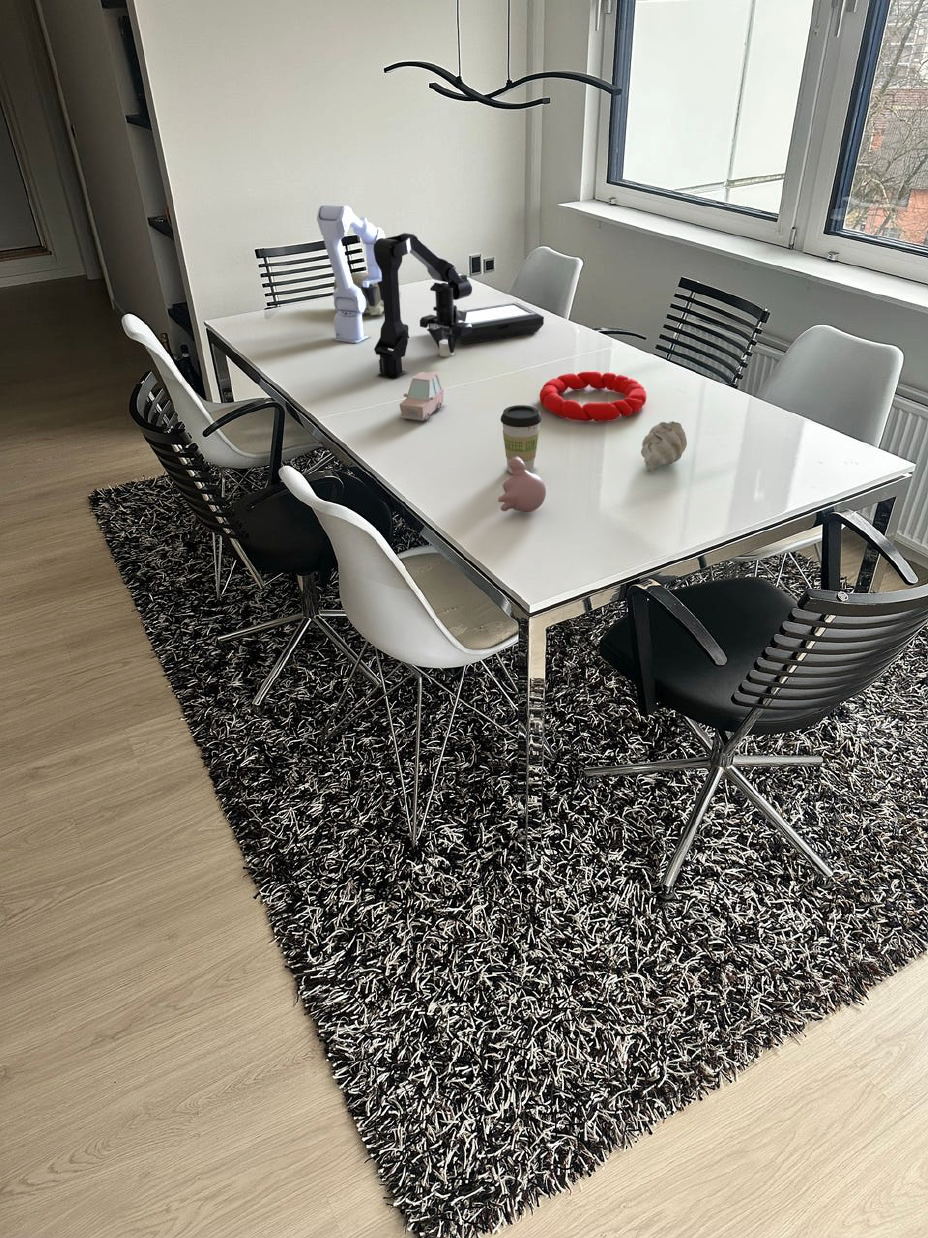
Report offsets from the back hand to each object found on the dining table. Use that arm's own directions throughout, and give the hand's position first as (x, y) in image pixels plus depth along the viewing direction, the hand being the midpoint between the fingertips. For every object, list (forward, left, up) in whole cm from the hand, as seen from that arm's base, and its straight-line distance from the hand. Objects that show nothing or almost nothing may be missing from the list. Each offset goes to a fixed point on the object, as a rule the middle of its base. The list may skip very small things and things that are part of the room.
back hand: (378, 303), depth 322 cm
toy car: (+60, -68, -8) cm, 91 cm away
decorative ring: (+101, -41, -8) cm, 109 cm away
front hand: (+40, -20, -6) cm, 45 cm away
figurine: (+112, -108, -8) cm, 156 cm away
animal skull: (-15, +12, -8) cm, 20 cm away
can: (+40, -20, -8) cm, 45 cm away
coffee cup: (+102, -89, -8) cm, 135 cm away
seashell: (+131, -70, -8) cm, 149 cm away
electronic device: (+42, +8, -8) cm, 43 cm away
